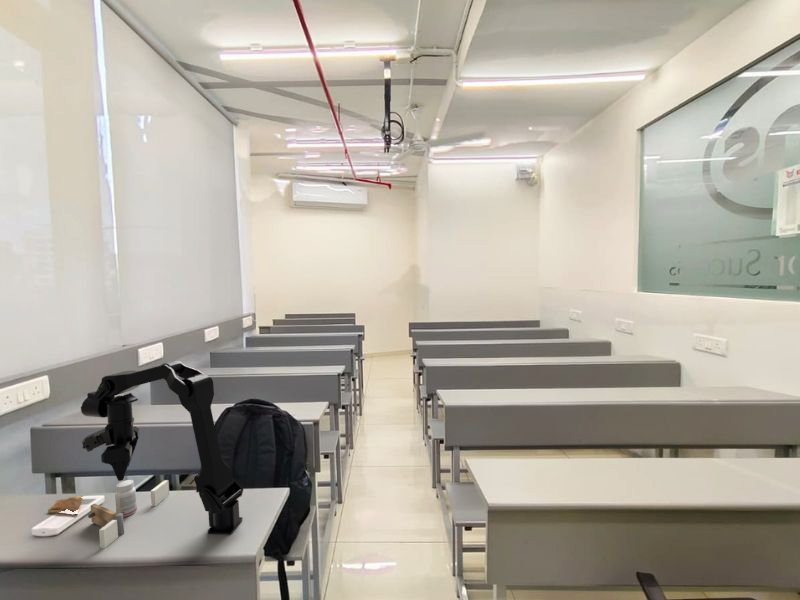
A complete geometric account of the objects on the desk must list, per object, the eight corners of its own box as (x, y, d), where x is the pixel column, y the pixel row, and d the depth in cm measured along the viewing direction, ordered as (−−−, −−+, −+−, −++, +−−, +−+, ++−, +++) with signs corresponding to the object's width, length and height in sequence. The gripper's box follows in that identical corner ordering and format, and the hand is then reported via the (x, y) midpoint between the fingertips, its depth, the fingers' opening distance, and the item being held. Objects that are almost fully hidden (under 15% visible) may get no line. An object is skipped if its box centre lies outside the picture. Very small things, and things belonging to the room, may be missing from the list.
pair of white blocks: (170, 494, 125) (169, 478, 124) (106, 548, 100) (104, 528, 100) (164, 494, 125) (163, 478, 125) (99, 547, 100) (97, 527, 100)
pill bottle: (141, 508, 117) (139, 479, 117) (126, 518, 113) (124, 488, 112) (127, 507, 119) (125, 478, 118) (112, 516, 114) (110, 486, 113)
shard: (78, 517, 115) (78, 511, 115) (42, 526, 111) (42, 520, 111) (84, 499, 124) (83, 493, 124) (51, 507, 121) (51, 501, 120)
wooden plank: (118, 529, 107) (117, 512, 107) (109, 534, 105) (107, 517, 105) (95, 520, 112) (94, 503, 112) (86, 524, 110) (85, 507, 110)
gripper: (92, 413, 119) (96, 466, 120) (74, 434, 102) (78, 496, 103) (138, 407, 124) (141, 458, 125) (127, 426, 107) (131, 485, 108)
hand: (123, 473), depth 115 cm, fingers open, 9 cm apart
